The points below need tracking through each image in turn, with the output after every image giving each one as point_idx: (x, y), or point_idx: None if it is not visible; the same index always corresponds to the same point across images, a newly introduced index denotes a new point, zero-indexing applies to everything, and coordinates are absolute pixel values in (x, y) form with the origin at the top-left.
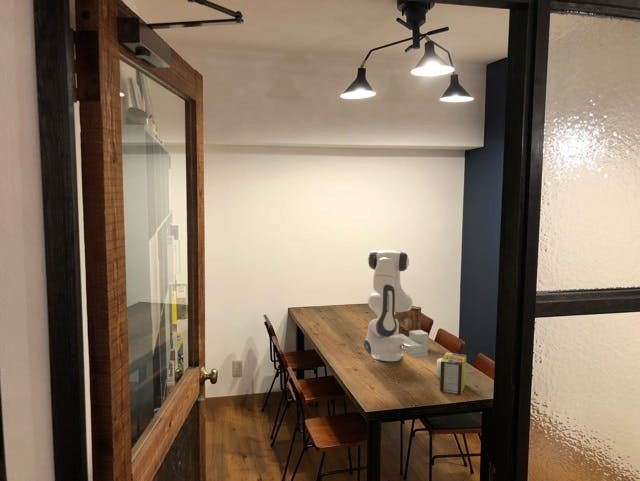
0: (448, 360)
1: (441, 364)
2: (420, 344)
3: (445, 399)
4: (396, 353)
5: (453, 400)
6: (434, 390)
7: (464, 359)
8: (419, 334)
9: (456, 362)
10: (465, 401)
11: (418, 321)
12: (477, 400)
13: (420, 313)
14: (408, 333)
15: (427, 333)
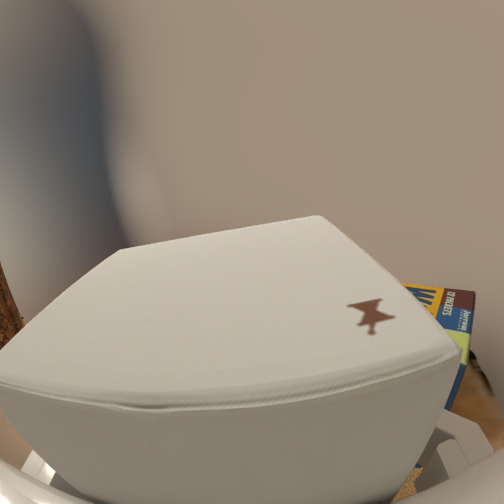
0: (446, 329)
1: (462, 377)
2: (465, 422)
3: (495, 449)
4: (21, 446)
5: (496, 424)
6: (409, 488)
7: (405, 283)
8: (389, 277)
9: (464, 305)
10: (492, 392)
11: (7, 296)
12: (474, 364)
13: (2, 271)
14: (2, 342)
15: (312, 217)
